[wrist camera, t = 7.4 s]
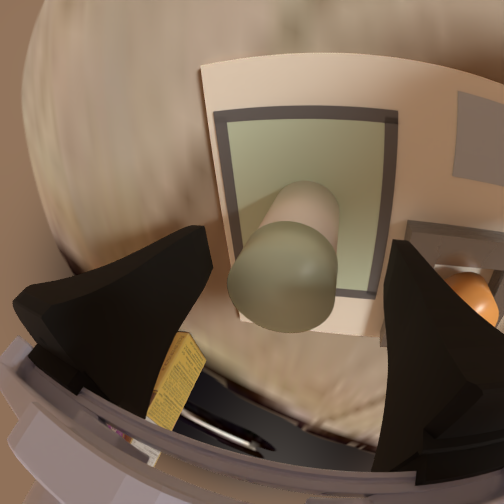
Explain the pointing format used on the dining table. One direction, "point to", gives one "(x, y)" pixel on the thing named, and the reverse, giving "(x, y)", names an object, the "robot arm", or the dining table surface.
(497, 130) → the picture board
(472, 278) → the button
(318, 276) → the marker
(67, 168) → the dining table surface
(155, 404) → the candy box
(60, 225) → the dining table surface
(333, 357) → the dining table surface
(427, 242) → the button base
